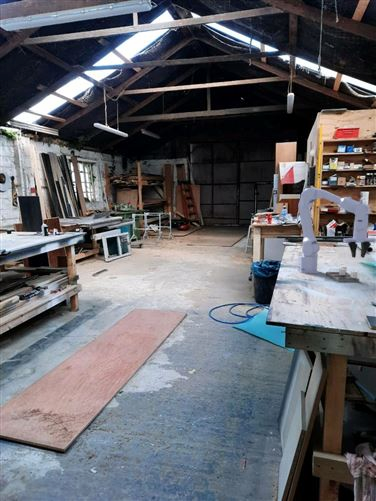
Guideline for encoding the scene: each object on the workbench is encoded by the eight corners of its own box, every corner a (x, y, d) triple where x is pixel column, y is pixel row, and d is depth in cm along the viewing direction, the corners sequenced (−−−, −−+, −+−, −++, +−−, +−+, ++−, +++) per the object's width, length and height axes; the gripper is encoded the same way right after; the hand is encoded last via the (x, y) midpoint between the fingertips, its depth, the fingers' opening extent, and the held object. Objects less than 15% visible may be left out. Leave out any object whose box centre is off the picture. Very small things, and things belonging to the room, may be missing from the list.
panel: (337, 281, 151) (337, 278, 151) (325, 274, 165) (326, 271, 165) (359, 281, 151) (359, 278, 151) (345, 274, 165) (345, 271, 164)
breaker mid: (340, 275, 157) (341, 269, 156) (339, 273, 159) (339, 268, 158) (345, 275, 157) (345, 269, 156) (343, 273, 159) (343, 268, 158)
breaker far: (342, 272, 162) (342, 266, 161) (340, 271, 164) (340, 265, 164) (346, 272, 162) (346, 266, 161) (344, 271, 164) (344, 265, 164)
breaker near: (352, 277, 151) (353, 272, 151) (350, 276, 153) (350, 271, 153) (356, 277, 151) (357, 272, 151) (354, 276, 153) (355, 271, 153)
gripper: (348, 230, 150) (346, 258, 152) (380, 230, 149) (377, 258, 152) (342, 228, 157) (340, 256, 159) (372, 228, 156) (369, 255, 159)
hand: (358, 257), depth 156 cm, fingers open, 4 cm apart
